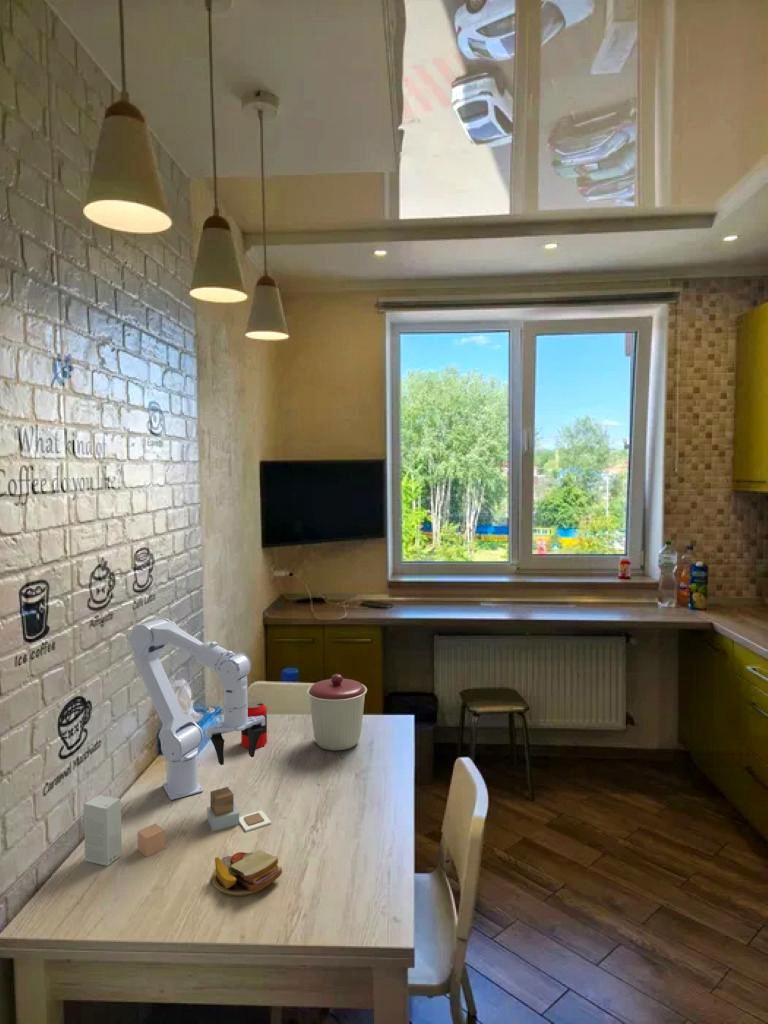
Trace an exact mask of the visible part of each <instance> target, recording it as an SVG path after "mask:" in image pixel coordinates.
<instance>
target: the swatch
mask: <svg viewBox="0 0 768 1024" xmlns="http://www.w3.org/2000/svg"><path fill="white" fill-rule="evenodd" d="M271 824H272V821H271V820H270V818H269V817H268V816H267V815H266V813H265V812H264V811H263V810H262V809H261V810H257V811H254V812H251V813H248V814H245V815H242V816H239V825H240V826H241V827H242V829H243V831H244V832H249V831H250V832H251V831H252V830H256V829H259V828H262V827H266V826H268V825H271Z"/></svg>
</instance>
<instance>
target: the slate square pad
mask: <svg viewBox="0 0 768 1024" xmlns="http://www.w3.org/2000/svg"><path fill="white" fill-rule="evenodd" d="M233 808H234V811H232V812H229V813H226V814H223V815H219V816H216V815H215V814H214V813H213V811H212V810H211V805H210V806H207V807H206V817H207V821H208V823H209V826H210V828H211V829H210V830H211V832H215V831H217V832H218V831H221V830H223V829H228V828H231V827H236V826H239V825H240V823H239V817H240V811H239V809H238V808H237V806H236V803H235V802H234V801H233Z"/></svg>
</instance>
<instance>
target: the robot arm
mask: <svg viewBox="0 0 768 1024" xmlns="http://www.w3.org/2000/svg"><path fill="white" fill-rule="evenodd" d="M128 642H129V645H130V646H131V648H132V651H133V657H134V658H133V659H134V663H135V666H136V669H137V670H138V671H139V674H140V676H141V679H142V681H143V683H144V685H145V687H146V690H147V692H148V695H149V697H150V699H151V701H152V704H153V705H154V708H155V710H156V712H157V715H158V717H159V720H160V721H161V723H162V726H161V729H160V731H159V733H158V738H159V741H160V749H161V753H162V755H163V756H164V758H165V760H166V763H165V764H166V766H165V767H166V768H165V769H166V781H165V782H163V783H162V787H163V788H164V790H165V792H166V793H167V796H168V797H169V799H170V801H173V800H177V799H181V798H183V797H187V796H191V795H194V794H199V793H202V792H204V788H203V787H202V786H201V783H200V782H199V763H198V762H199V761H198V760H199V754H198V752H199V750H200V746H201V745H202V743H203V741H204V737H206V738H207V739H210V741H211V742H212V746H213V747H214V749H215V752H216V755H217V756H216V757H217V763H218V764H219V765H220V766H222V765H223V766H224V763H225V759H224V758H225V757H224V749H225V747H224V746H225V738H223V734H228V733H233V732H241V730H245V729H246V728H247V731H248V741H249V742H248V748H247V749H248V755H249V757H251V758H254V757H255V753H256V749H257V748H256V746H257V743H258V740H259V738H260V736H261V734H262V732H263V728H262V727H261V726H264V725H265V717H264V716H263V715H262V716H255V717H248V705H247V703H248V675H249V673H251V671H252V661H251V659H250V657H249V656H248V655H246V654H245V653H244V652H238V653H234V652H233V651H232V650H228V649H225V648H224V647H221V645H219V644H218V642H217V641H214V640H213V641H207V642H203V641H201V640H199V639H197V638H196V637H194V636H193V635H191V634H190V633H188V632H186V631H185V630H183V629H181V628H180V627H178V626H177V624H176V622H175V621H172V620H170V619H168V618H166V617H160V618H157V619H155V620H152V621H149V622H145V623H140V624H137V625H135V626H134V627H133V628H132V630H131V632H130V635H129V638H128ZM167 645H172V646H173V647H177V648H178V649H181V650H183V651H185V652H187V653H189V654H192V655H195V657H196V662H197V663H199V664H201V665H202V666H205V667H206V668H207V669H210V670H212V671H213V672H215V673H217V675H218V677H219V679H220V680H221V682H222V683H221V684H222V689H223V697H222V698H223V721H221V722H219V723H217V724H214V725H210V726H207V727H205V728H204V731H205V732H204V731H203V730H202V728H201V726H200V725H198V724H197V722H196V721H195V720H194V717H193V716H191V715H189V714H186V713H184V711H183V708H182V706H181V705H180V702H179V700H178V698H177V695H176V693H175V691H174V688H173V686H172V685H171V682H170V680H169V678H168V676H167V673H166V671H165V669H164V666H163V665H162V662H161V660H160V657H161V654H162V652H163V650H164V649H165V647H166V646H167ZM204 734H205V736H204Z"/></svg>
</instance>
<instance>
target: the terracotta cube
mask: <svg viewBox="0 0 768 1024" xmlns="http://www.w3.org/2000/svg"><path fill="white" fill-rule="evenodd" d="M136 835H137V850H138V851H139V852H141V854H142V855H143V856H144V857H146V858H147V857H150V856H152V855H154V854H156V853H158V852H160V851H162V850H164V849H166V848H165V843H166V840H165V838H166V837H165V829H163V828H162V827H161V826H160V825H158V823H156V822H155V823H154V824H151V825H147V826H146V827H144V828H141V829H139V830H138V831H137V834H136Z"/></svg>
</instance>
